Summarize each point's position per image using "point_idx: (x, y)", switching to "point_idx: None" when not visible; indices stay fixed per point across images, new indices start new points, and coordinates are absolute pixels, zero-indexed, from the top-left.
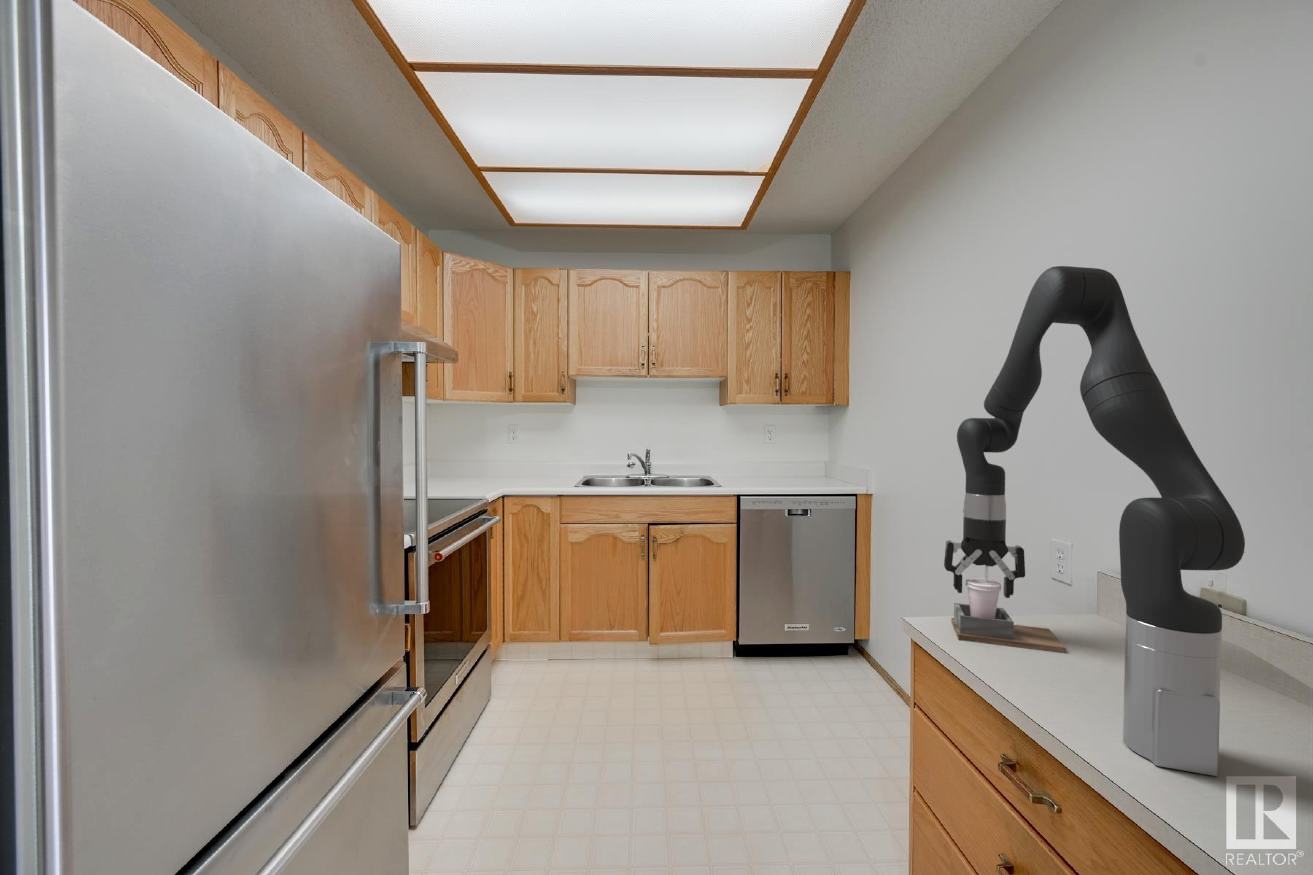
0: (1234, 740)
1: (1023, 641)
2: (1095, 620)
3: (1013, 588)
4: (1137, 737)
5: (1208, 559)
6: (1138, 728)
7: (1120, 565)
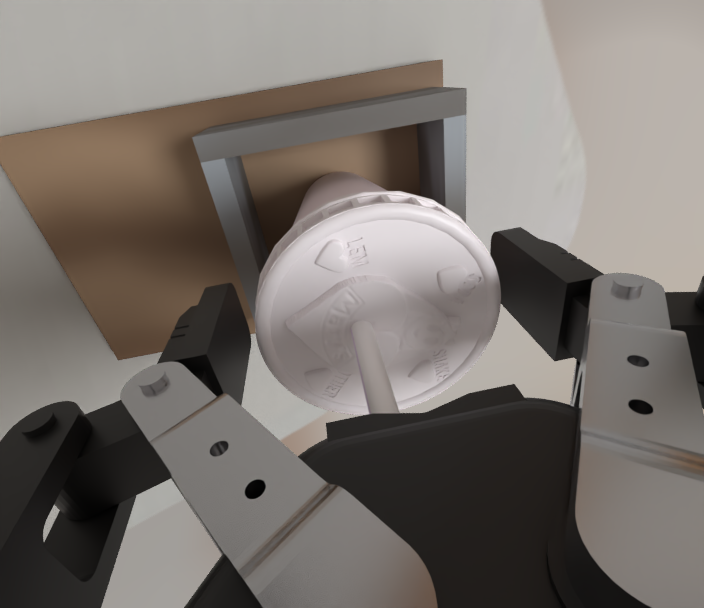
0: None
1: (168, 128)
2: (43, 529)
3: (171, 335)
4: None
5: None
6: None
7: None
